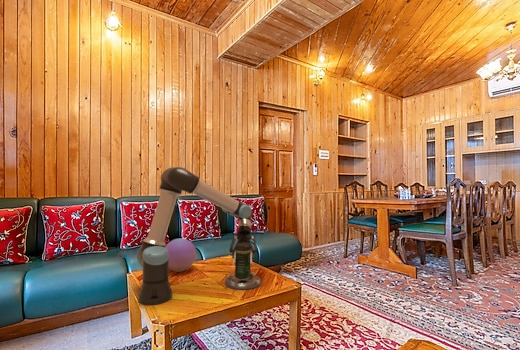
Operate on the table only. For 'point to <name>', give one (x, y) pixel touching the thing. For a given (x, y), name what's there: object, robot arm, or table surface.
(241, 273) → the coffee jar
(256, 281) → the lug base plate
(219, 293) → the table surface
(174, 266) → the ball
